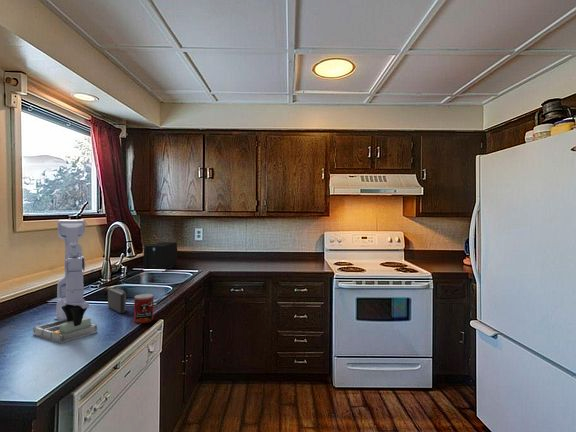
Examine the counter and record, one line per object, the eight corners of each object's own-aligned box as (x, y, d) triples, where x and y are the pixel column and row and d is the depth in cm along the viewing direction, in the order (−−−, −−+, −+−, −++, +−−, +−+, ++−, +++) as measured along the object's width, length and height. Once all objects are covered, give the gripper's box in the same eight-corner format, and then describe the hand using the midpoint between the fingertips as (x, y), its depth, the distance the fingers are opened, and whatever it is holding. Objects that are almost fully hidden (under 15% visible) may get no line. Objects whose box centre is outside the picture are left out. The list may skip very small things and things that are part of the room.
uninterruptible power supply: (142, 272, 274) (143, 245, 274) (159, 265, 308) (159, 241, 308) (164, 272, 274) (164, 246, 274) (178, 265, 308) (178, 242, 308)
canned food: (134, 324, 151) (134, 298, 151) (134, 319, 158) (134, 294, 158) (153, 322, 154) (153, 297, 154) (152, 317, 161) (152, 292, 161)
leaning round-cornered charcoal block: (130, 312, 168) (130, 292, 168) (120, 314, 165) (120, 294, 164) (116, 305, 179) (116, 287, 179) (107, 307, 176) (107, 288, 175)
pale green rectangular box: (59, 336, 133) (59, 324, 133) (85, 328, 142) (85, 316, 142) (64, 337, 132) (64, 325, 131) (90, 329, 140) (90, 318, 140)
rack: (33, 334, 137) (33, 325, 137) (69, 324, 149) (69, 316, 149) (61, 343, 129) (61, 334, 129) (96, 332, 141) (96, 323, 141)
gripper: (52, 288, 136) (52, 324, 136) (75, 293, 129) (75, 330, 129) (71, 285, 142) (71, 319, 142) (94, 289, 135) (94, 325, 136)
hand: (74, 324), depth 136 cm, fingers closed on pale green rectangular box, 3 cm apart
